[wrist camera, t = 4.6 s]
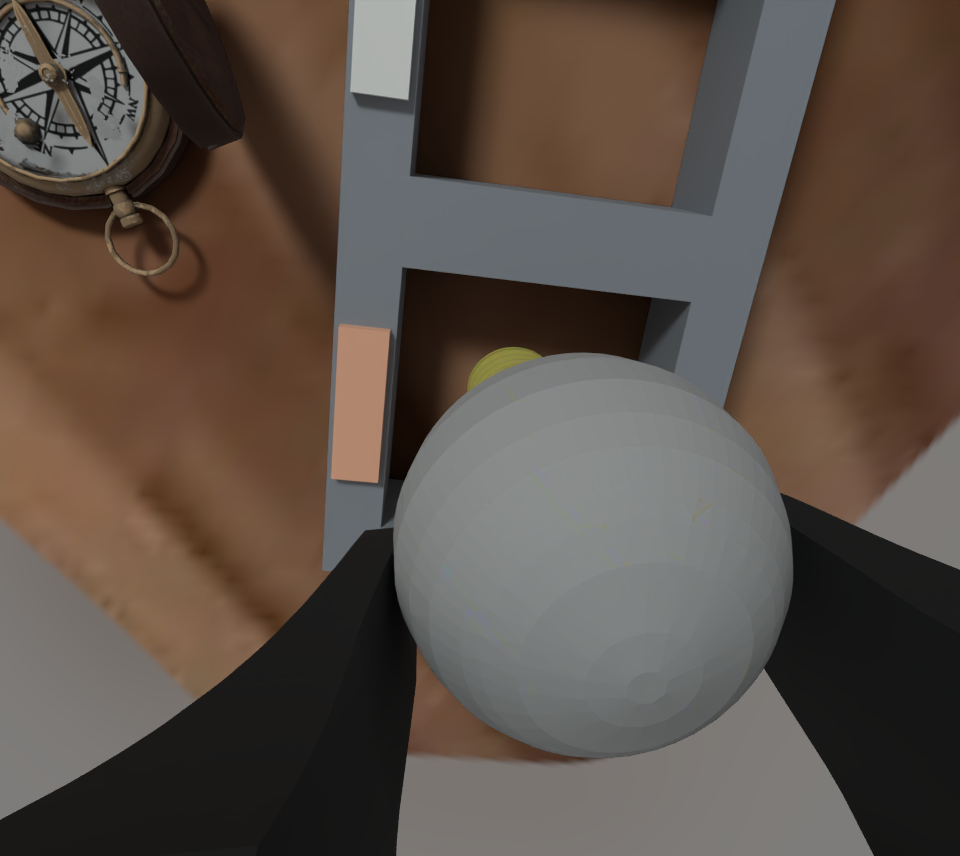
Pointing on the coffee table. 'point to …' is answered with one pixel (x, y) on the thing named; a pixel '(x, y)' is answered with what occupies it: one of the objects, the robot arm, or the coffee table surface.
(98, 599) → the coffee table surface
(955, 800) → the robot arm
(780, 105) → the socket block
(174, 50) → the compass
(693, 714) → the light bulb
